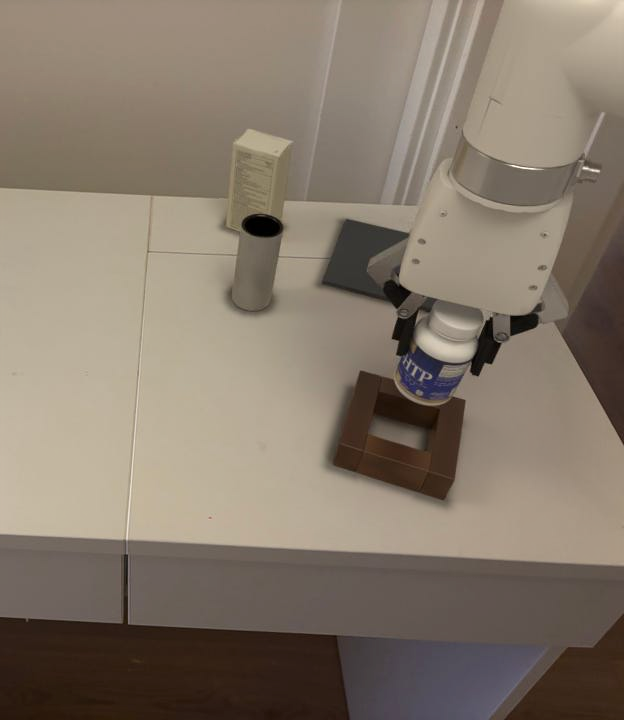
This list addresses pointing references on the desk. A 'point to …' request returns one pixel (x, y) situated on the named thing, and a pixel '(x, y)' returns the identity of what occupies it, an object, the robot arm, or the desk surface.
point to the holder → (394, 459)
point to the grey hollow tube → (256, 261)
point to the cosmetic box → (257, 176)
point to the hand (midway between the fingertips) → (438, 353)
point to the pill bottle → (439, 353)
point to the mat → (363, 259)
